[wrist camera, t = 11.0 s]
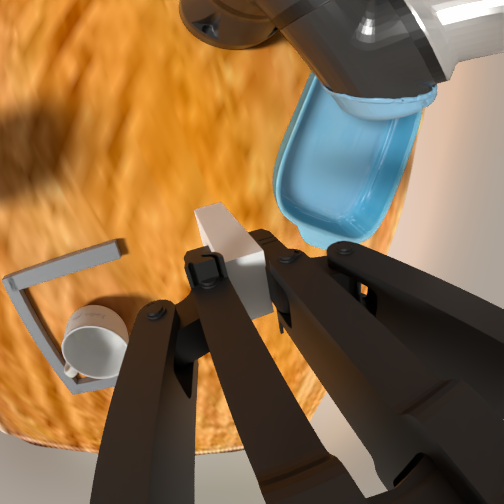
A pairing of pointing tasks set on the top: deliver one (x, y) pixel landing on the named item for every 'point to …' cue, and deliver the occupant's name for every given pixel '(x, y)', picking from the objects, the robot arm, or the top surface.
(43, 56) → the top surface
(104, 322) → the teacup
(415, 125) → the casserole dish
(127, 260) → the top surface
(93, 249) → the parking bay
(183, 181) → the top surface
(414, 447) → the robot arm
